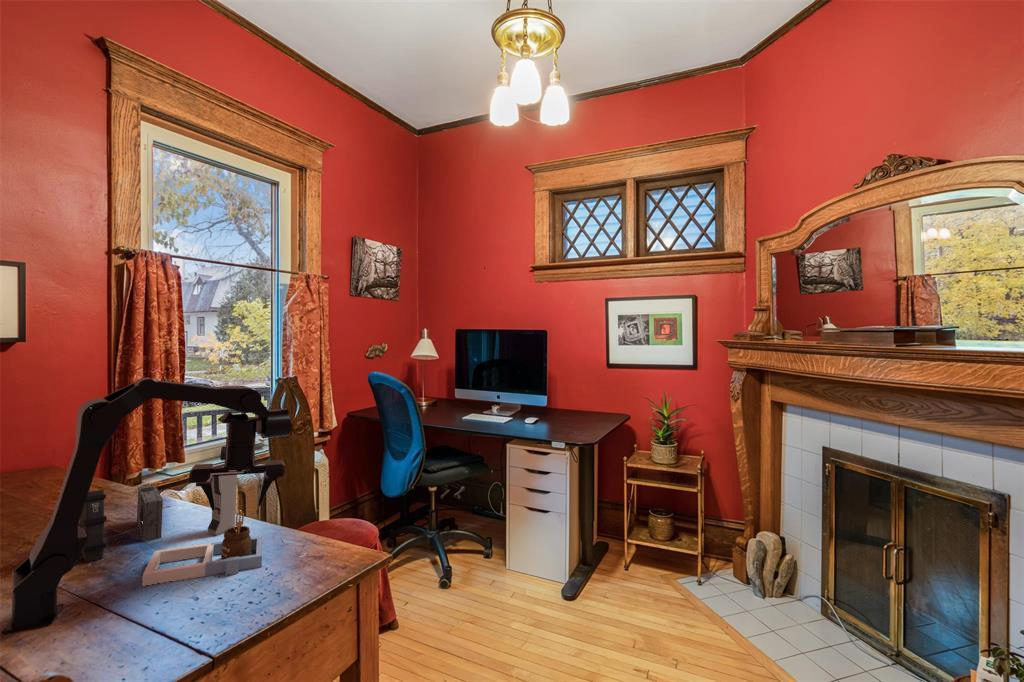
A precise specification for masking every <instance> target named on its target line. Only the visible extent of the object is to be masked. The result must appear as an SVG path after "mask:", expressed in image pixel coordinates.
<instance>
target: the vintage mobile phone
mask: <svg viewBox="0 0 1024 682" xmlns="http://www.w3.org/2000/svg"><path fill="white" fill-rule="evenodd" d="M225 438H226V439H225V446H227V437H225ZM225 464H226V460H224V466H223V467H225ZM231 471H236V470H231ZM237 484H238V475H226V476H214V492H215V509H214V511H212V510H211V521H210V523H209V525H208V527H207V533H209V534H210V535H214V536H219V535H222V534H223V535H224V533H225V531H226V530H227V529H229V528H232V527H234V526H235V523H236V510H237V509H236V508H237ZM234 511H235V512H234ZM233 512H234V514H233ZM233 524H234V525H233ZM232 525H233V526H232ZM235 527H236V526H235Z"/></svg>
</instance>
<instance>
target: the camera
mask: <svg viewBox="0 0 1024 682" xmlns="http://www.w3.org/2000/svg"><path fill="white" fill-rule="evenodd" d="M137 488H138V489H137V492H138V493H137V507H136V508H137V511H136V513H137V514H136V524H138V525H137V528H138V527H139V528H138V530H140V531H139V533H140V532H141V533H140V536H141V535H142V536H141V539H143V540H142V542H146V540H148V541H152V540H151V539H153V540H156V539H157V538H158V539H161V538H162V528H163V526H162V525H163V506H164V505H163V504H164V503H163V502H164V499H163V498H162V496H161V494H160V491H159V490H158V488H157V485H155V484H151V485H145V486H139V487H137ZM141 521H143V524H142V522H141ZM155 538H156V539H155Z"/></svg>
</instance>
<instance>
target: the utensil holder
mask: <svg viewBox="0 0 1024 682" xmlns="http://www.w3.org/2000/svg"><path fill="white" fill-rule="evenodd" d="M234 512H235V526H234V527H232V528H229V529H227V530H226V531H225V533H223V540H222V541H221V542H222V548H221V554H220V560H223V559H227V558H231V557H237V556H239V557H243V556H249V555H251V551H252V550H251V538H252V537H251V535H250V534H251V533H250V532H251V531H250V527H249V526H245V525H244V517H245V513H244V512H243V511H242V510H241V509H240V510H239V509H236V510H235V511H234ZM234 512H233V514H234ZM236 512H239V513H236ZM233 525H234V524H233ZM233 525H232V526H233Z"/></svg>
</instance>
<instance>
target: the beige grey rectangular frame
mask: <svg viewBox="0 0 1024 682" xmlns="http://www.w3.org/2000/svg"><path fill="white" fill-rule="evenodd" d="M263 536H264V535H261V536H260V535H259V536H254V537H253V536H252V537H251V549H252V550H255V552H256V553H255V554H250V555H249V556H243V557H239V556H237V557H231V558H227V559H223V560H221V559H217V560H213V559H212V558H214V556H217V554H218V555H221V548H222V542H223V541H217V542H209V543H203V544H202V543H201V544H195V545H188V546H181V547H179V546H178V547H173V548H166V549H160V550H155V551H153V554H152V556H151V558H150V560H149V562H148V564H147V566H146V567H145V570H144V572H143V573H142V587H147V586H146V585H148V586H152V584H154V585H158V584H157V583H160V584H164V583H163V582H166V583H170V582H169V581H172V582H178V581H183V579H184V580H189V578H190V579H195V578H200V577H208V576H214V575H219V574H218V573H221V574H224V575H226V576H229V575H228V574H232V575H235V574H234V573H238V574H239V571H243V570H242V569H245V570H249V569H250V568H251V569H255V568H256V567H257V568H262V562H263V561H262V560H263V541H264V539H263ZM203 556H205V557H203ZM197 557H198V558H203V561H202V562H197V563H192V564H186V565H177V566H172V567H165V568H159V567H160V564H163V563H162V562H164V563H170V562H176V561H184V560H183V559H185V560H190V558H191V559H197ZM157 568H159V569H157ZM251 569H250V570H251ZM238 570H239V571H238ZM224 572H226V573H224ZM213 574H214V575H213ZM177 580H178V581H177Z"/></svg>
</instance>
